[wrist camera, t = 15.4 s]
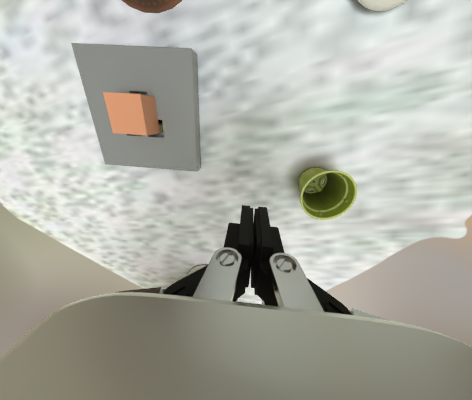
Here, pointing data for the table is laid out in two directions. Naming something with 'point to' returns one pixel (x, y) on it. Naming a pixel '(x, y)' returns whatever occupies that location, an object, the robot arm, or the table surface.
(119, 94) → the plug
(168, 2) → the brown cylinder
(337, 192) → the plant pot
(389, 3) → the flower in vase
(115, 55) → the socket
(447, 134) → the table surface
